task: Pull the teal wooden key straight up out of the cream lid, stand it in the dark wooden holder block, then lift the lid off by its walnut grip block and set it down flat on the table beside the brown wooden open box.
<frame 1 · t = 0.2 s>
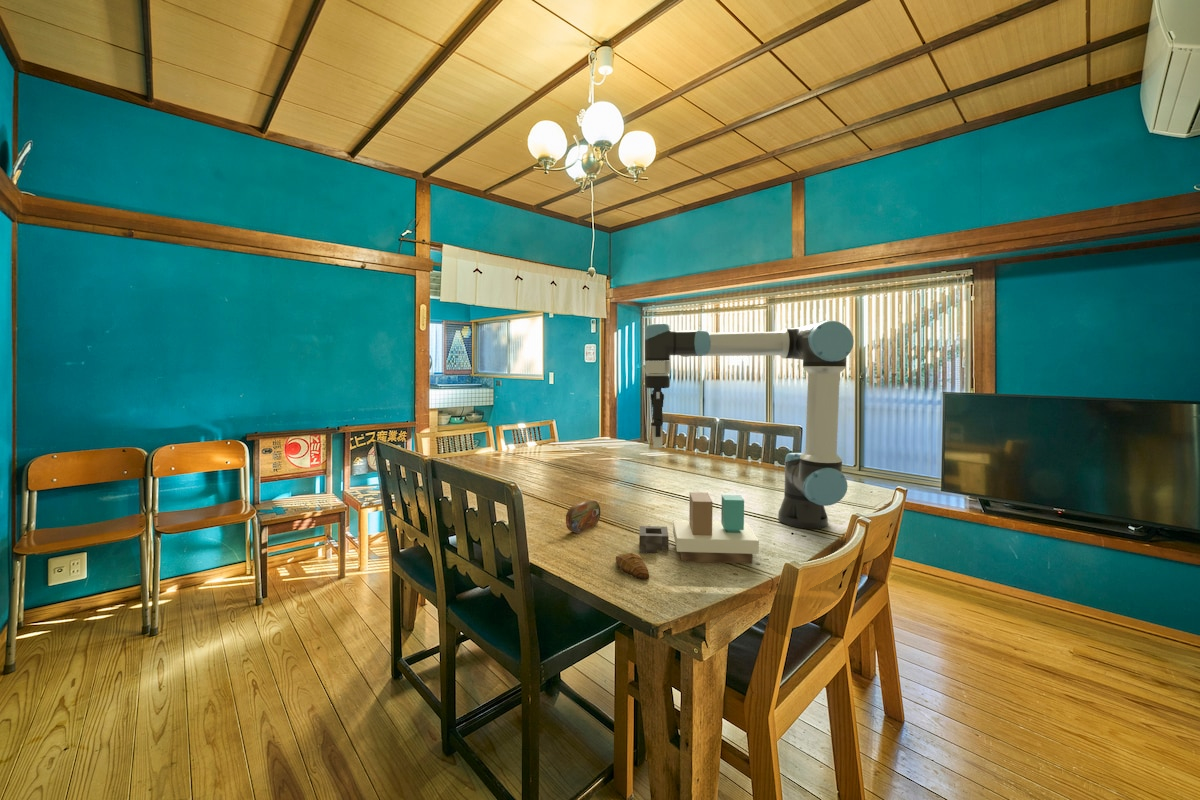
hand: (657, 444, 148), 28 cm above the table, tool pointing down, fingers open, 13 cm apart
croissant: (631, 572, 121), on the table
key: (731, 553, 130), point 1 cm above the table, touching brown wooden open box
key holder: (653, 548, 136), on the table
lid: (713, 535, 130), point 6 cm above the table, touching brown wooden open box
brown wooden open box: (713, 556, 130), on the table
tin: (583, 529, 153), on the table
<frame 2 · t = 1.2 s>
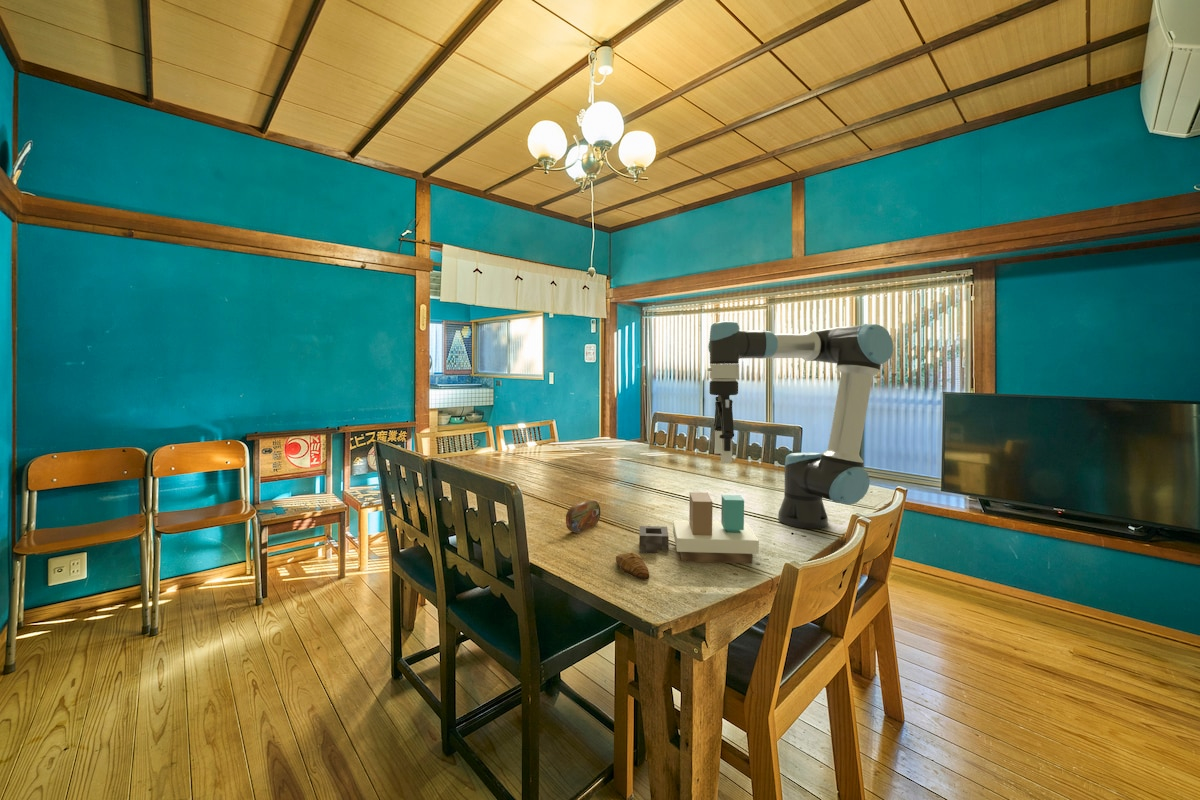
hand: (722, 458, 130), 27 cm above the table, tool pointing down, fingers open, 13 cm apart
nothing on the table moved.
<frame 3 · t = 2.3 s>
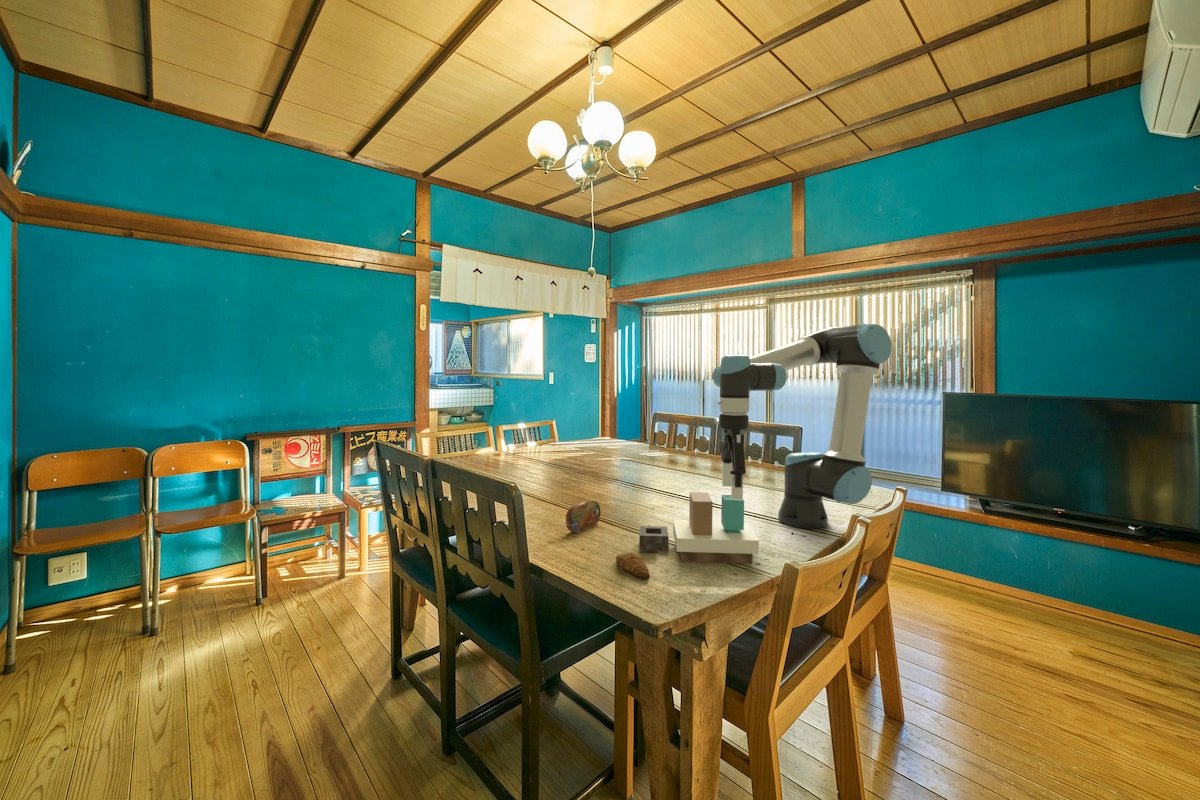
hand: (731, 492, 128), 18 cm above the table, tool pointing down, fingers open, 13 cm apart
nothing on the table moved.
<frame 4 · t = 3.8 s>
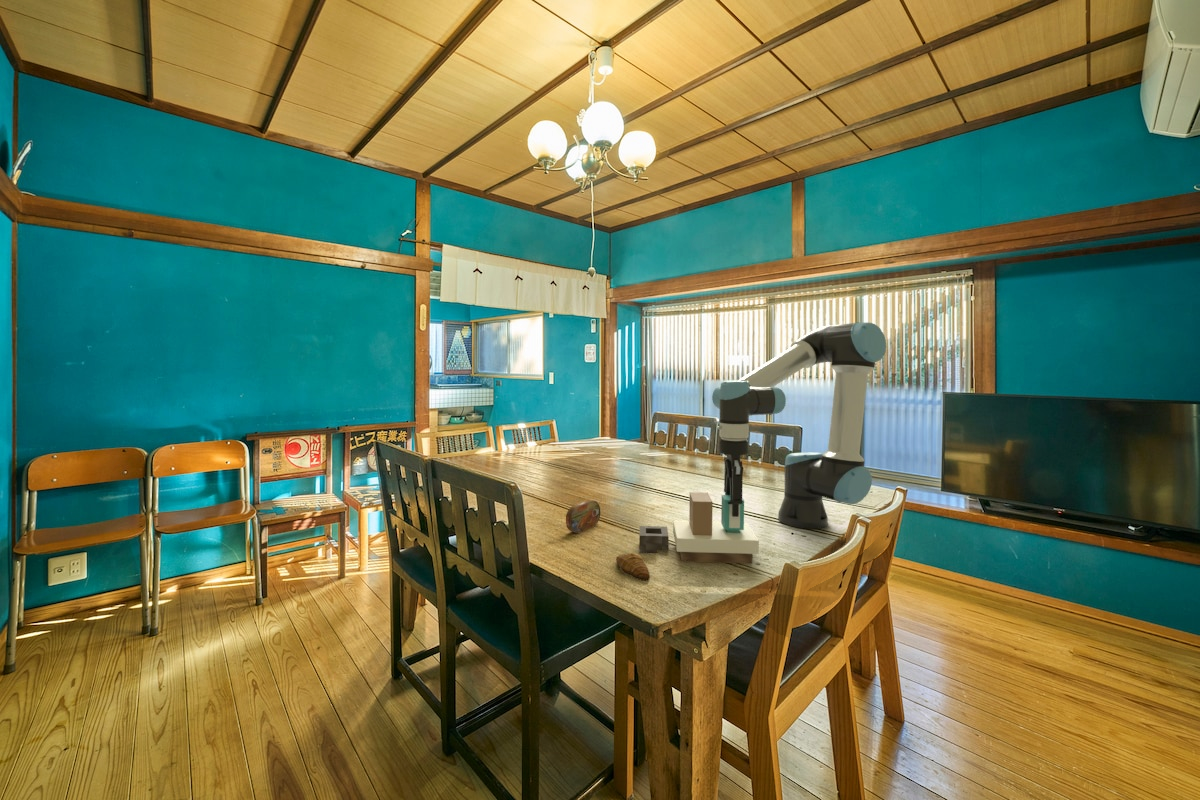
hand: (732, 523, 129), 9 cm above the table, tool pointing down, fingers closed on key, 5 cm apart
key: (731, 553, 130), point 1 cm above the table, touching gripper, brown wooden open box
everything else where it was.
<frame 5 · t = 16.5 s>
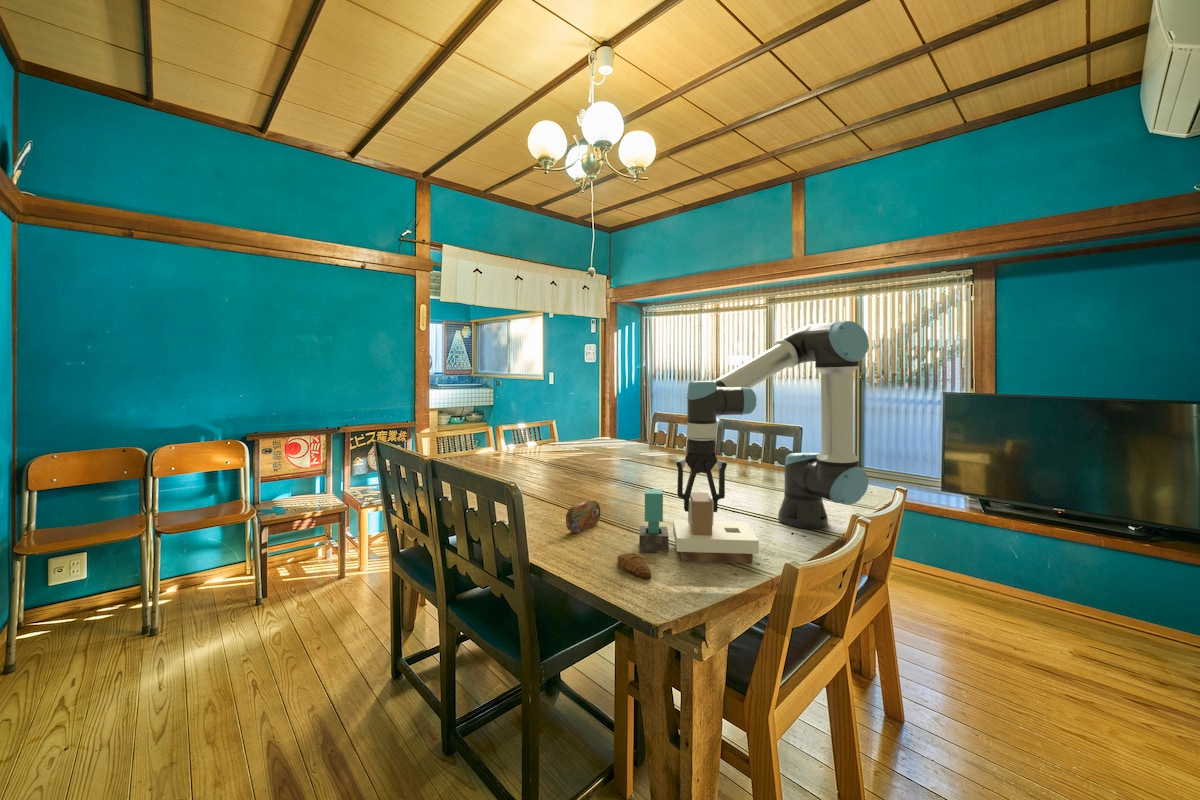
hand: (700, 523, 130), 9 cm above the table, tool pointing down, fingers closed on lid, 5 cm apart
key: (653, 544, 136), point 1 cm above the table, touching key holder
lid: (713, 535, 130), point 6 cm above the table, touching gripper, brown wooden open box
everything else where it was.
when the fingers open (7 cm above the table, at t = 25.3 s): lid stays where it is, point 4 cm above the table.
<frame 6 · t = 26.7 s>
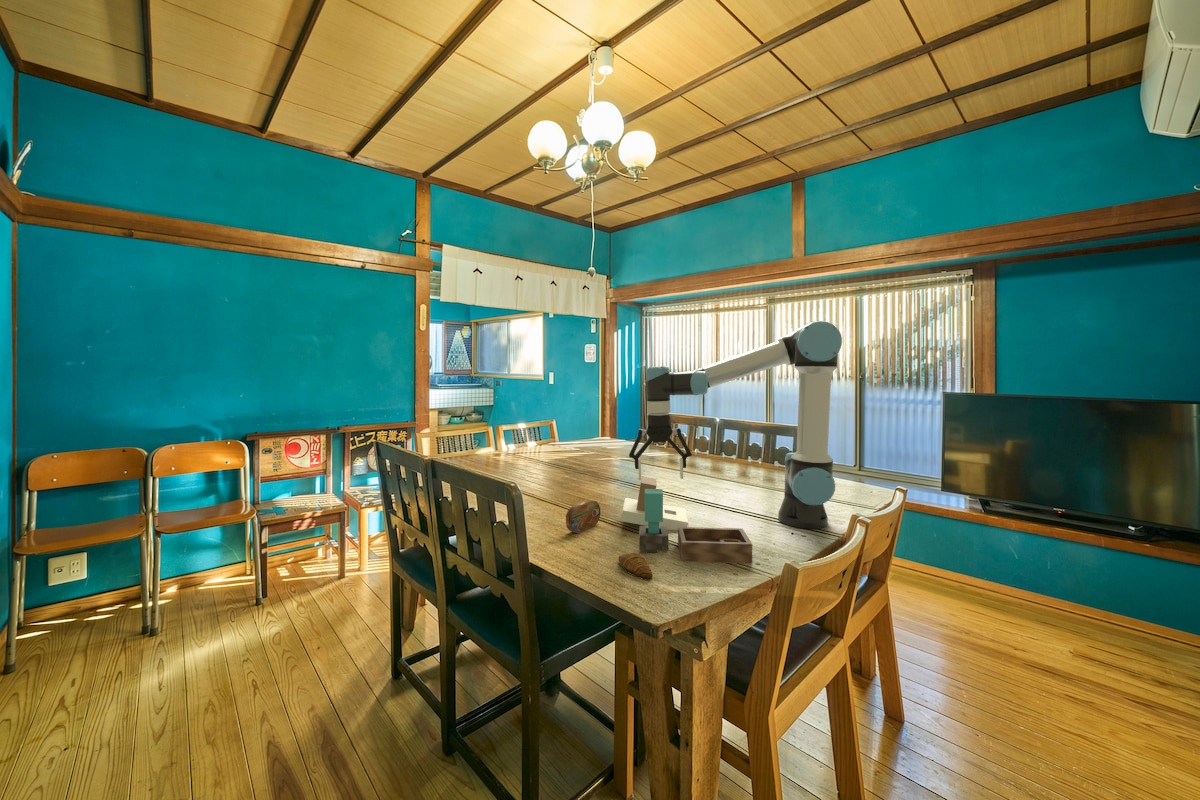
hand: (660, 478, 157), 15 cm above the table, tool pointing down, fingers open, 13 cm apart
lid: (654, 513, 156), point 4 cm above the table, tilted 9°, touching gripper
everything else where it was.
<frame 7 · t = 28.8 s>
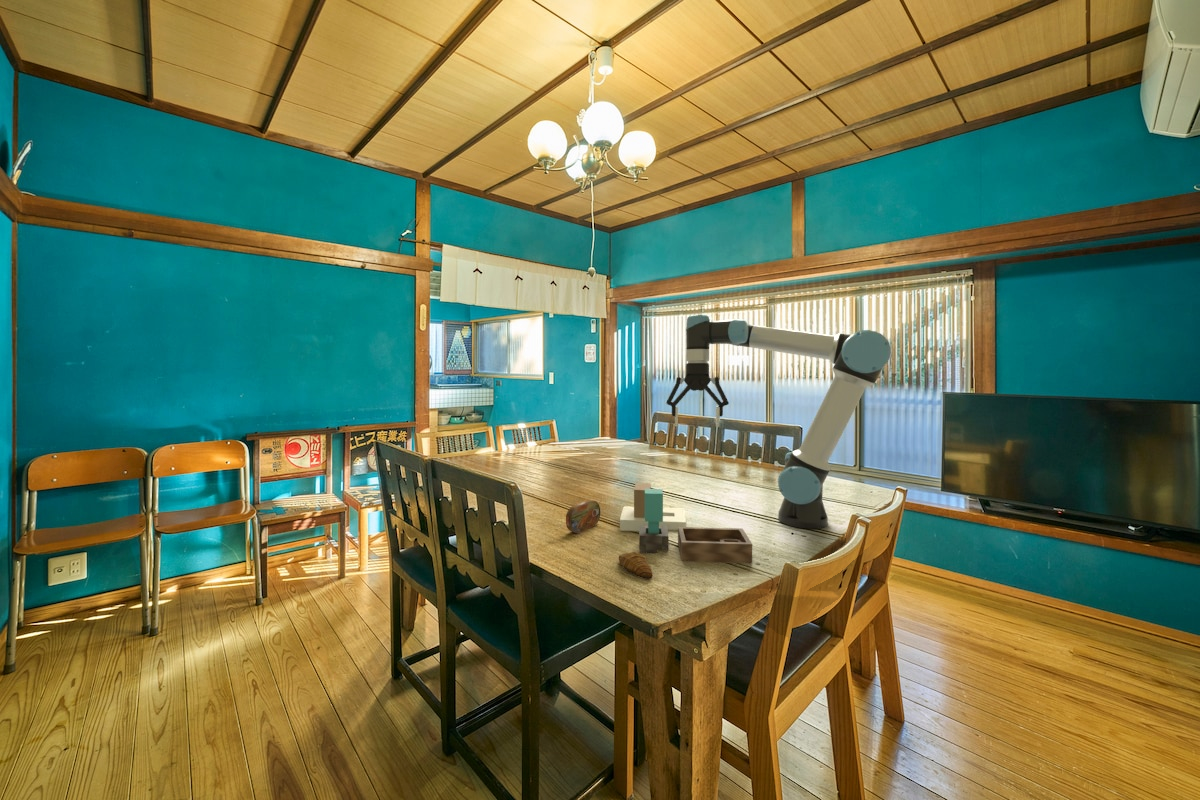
hand: (696, 426, 160), 32 cm above the table, tool pointing down, fingers open, 13 cm apart
lid: (653, 518, 157), point 2 cm above the table
everything else where it was.
at the end: key 0.0 cm off-centre on the key holder, point 1.0 cm above the key holder's base; lid inside the target area (0.8 cm from its centre), point 2.0 cm above the table; lid tilted 0° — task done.
